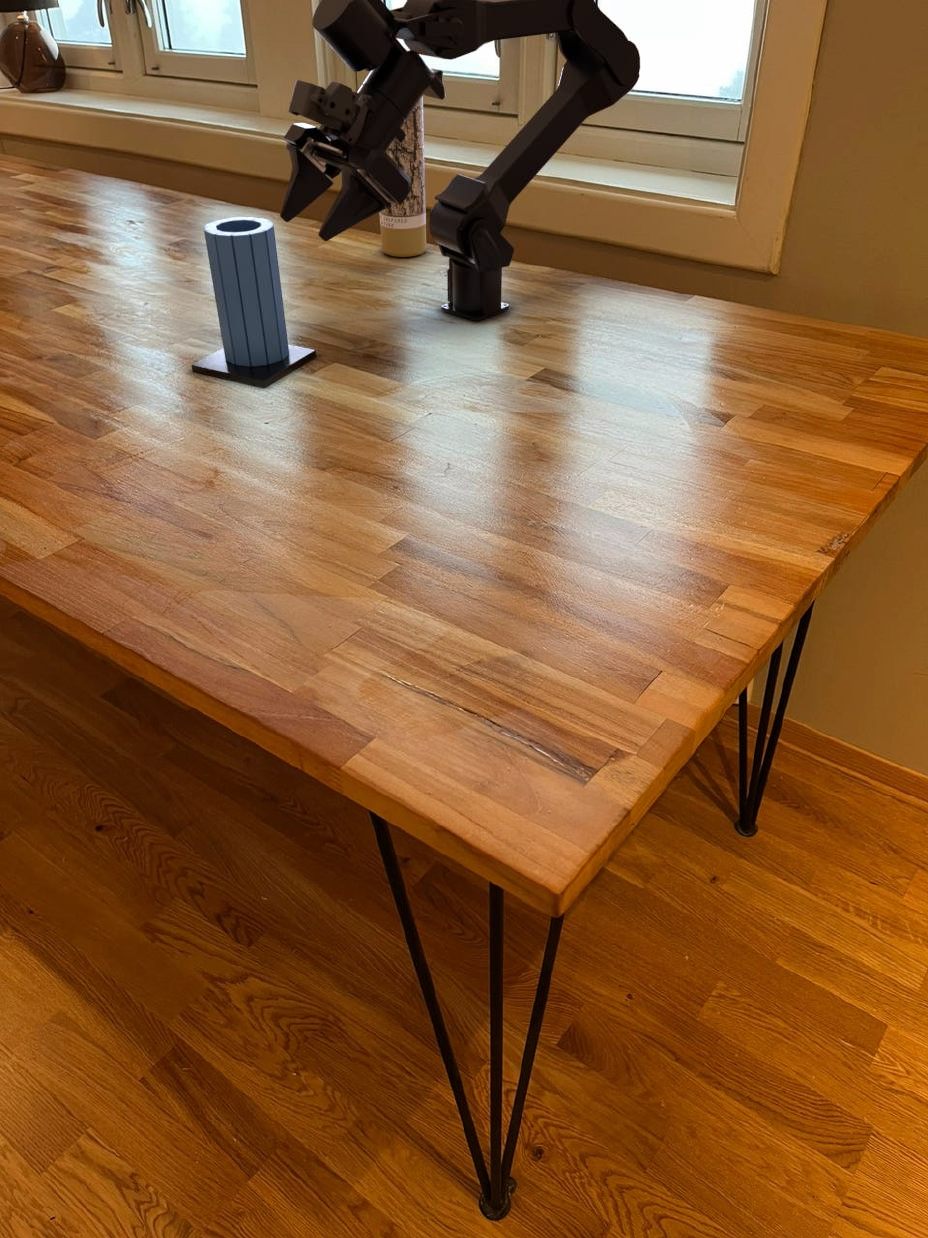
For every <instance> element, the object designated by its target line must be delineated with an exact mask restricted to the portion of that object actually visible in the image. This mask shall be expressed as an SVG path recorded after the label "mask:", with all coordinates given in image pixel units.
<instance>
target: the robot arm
mask: <svg viewBox="0 0 928 1238" xmlns="http://www.w3.org/2000/svg"><path fill="white" fill-rule="evenodd" d="M313 13H314V14H313V17H312V28H314V30H315V32H317V33H318V35H319V36H320V37H321V38H322V39H323V40H324V41H325V42H326V43H327V45H329V47H330V48H331V49H332V50H333V51H334V53H335V54H336V55H337V56H338V57H339V58H340V59H341V61H343V62H344V64H345V66H347V67H348V68H349V69H350V70H351V71H352V72H353V73H358V72H362V71H365V72H369V73H368V75H367V76H366V78H365V80H364V81H363V83H362V85H361V86H360V87H359V89H358V90H357V91H353V88H351V87H350V86H347V85H346V84H343V83H341V82H337V81H334V80H333V81H331V82H330V83H329V84H328V85H327V87H326V88H325V87H323V86H321V85H320V86H319V85H316V84H314V83H311V82H309V81H308V82H307V81H304V80H300V79H295V83H294V87H293V91H292V95H291V99H290V102H289V106H288V109H287V110H288V111H287V112H288V113H290V114H291V115H294V116H297V117H298V116H300V117H302V118H306V119H308V120H310V121H313V122H315V123H317V124H319V125H320V126H319V127H317V126H313V125H311V124H308V123H306V122H298V123H292V124H291V125H290V127H289V129H287V132H286V133H285V135H284V136H283V140H284V141H285V142H286V148H285V149H286V151H287V152H288V153H289V154H288V155H289V157H290V162H291V172H290V176H289V181H288V184H287V188H286V191H285V195H284V198H283V202H282V206H281V209H280V213H279V218H280V219H282V220H283V221H284V222H285V223H290V222H291V220H293V219H294V218H296V217H298V216H299V214H301V213H302V212H303V211H305V209H306V208H308V207H309V206H310V205H312V203H314V202H315V201H316V200H317V199H318V198H320V197H321V195H323V194H324V193H326V192H327V191H328V190H329V189H330V188H332V186H333V185H334V184H335V182H334V181H333V179H334V178H336V177H338V176H339V175H340V174H341V188H340V190H339V192H338V193H337V196H336V197H335V199H334V201H333V203H332V204H331V207H330V209H329V211H327V214H326V216H325V218H324V220H323V222H322V224H321V226H320V229H319V231H318V233H317V235H318V237H319V238H320V239H321V240H322V241H324V242H328V241H330V240H331V239H333V238H335V237H337V236H339V235H341V234H342V233H343V232H345V231H347V230H348V229H350V228H352V227H354V226H356V225H357V224H360V223H361V222H362V221H365V220H366V219H369V218H371V217H373V216H374V215H377V214H378V213H380V211H382V210H384V209H388V210H389V209H390V208H391V207H392V205H391V204H390V203H389V202H391V203H394V204H396V205H399V206H401V205H402V203H403V202H404V200H405V199H406V197H407V196H408V194H409V193H410V178H409V177H408V175H407V174H406V173H405V172H404V171H403V170H402V169H401V168H400V167H399V166H398V165H397V164H396V163H395V162H394V160H393V159H392V158H391V157H390V156H389V155H388V154H387V153H386V151H387V149H388V148H389V146H390V145H391V143H392V142H393V141H396V142H399V143H402V141H403V140H404V138H405V137H406V134H405V133H404V132H403V131H402V130H401V128H402V127H403V125H404V124H405V122H406V120H407V119H408V117H409V116H410V114H411V113H412V111H413V110H414V108H415V107H416V105H417V104H418V102H419V101H420V99H421V98H422V96H423V97H424V96H425V97H429V98H432V99H437V100H440V101H441V100H442V101H443V100H445V98H446V89H445V85H444V81H443V79H444V72H443V70H441V69H436V68H430V66H429V65H428V64H427V63H426V61H425V60H424V59H423V58H422V56H424V57H425V56H426V57H431V58H437V59H441V60H455V59H458V58H461V57H463V56H466V55H469V54H472V53H474V52H477V51H478V50H480V49H481V48H482V47H483V46H484V45H486V44H488V43H491V42H494V41H500V40H508V39H509V40H511V39H518V38H526V37H534V36H542V35H551V34H555V36H556V41H557V44H558V49H559V52H560V54H561V55H562V57H563V58H564V59H565V62H564V64H563V66H562V70H561V75H560V79H559V82H558V86H557V88H556V90H554V92H553V93H552V94H551V95H550V97H549V98H548V99H547V100H546V101H545V102H544V103H543V104H542V106H541V107H540V108H539V109H538V110H537V111H536V112H535V113H534V115H532V117H531V118H530V119H529V120H528V121H527V122H526V124H524V125H523V127H522V128H521V129H520V130H519V131H518V132H517V134H516V135H515V136H514V137H513V138H512V139H511V140H510V141H509V142H508V144H506V146H504V148H503V149H502V150H501V151H500V152H499V154H497V156H496V157H495V158H494V159H493V160H492V162H491V163H490V164H489V165H488V166H487V167H486V168H485V170H483V172H482V173H481V174H480V175H478V176H476V177H474V178H472V177H469V176H467V175H463V174H459V173H457V174H456V175H455V176H454V177H453V178H452V179H451V180H450V182H449V183H448V185H447V186H446V187H445V189H443V191H442V192H441V193H439V194H437V195H435V196H434V200H435V201H436V202H435V204H434V205H433V206H432V208H431V210H430V212H429V213H428V214H429V215H428V218H429V224H428V227H429V233H430V235H431V237H432V239H433V241H435V243H436V244H437V245H438V248H439V251H440V254H441V256H443V257H444V258H448V269H447V271H446V273H447V274H446V278H447V281H446V282H447V283H446V284H447V286H446V287H447V302H448V303H445V304H443V305H441V306H440V310H441V311H442V312H446V313H450V314H452V315H455V316H459V317H462V318H465V319H468V320H471V321H475V322H479V321H483V320H485V319H487V318H490V317H491V316H495V315H497V314H500V313H502V312H504V311H507V310H509V309H510V304H508V303H506V302H502V287H503V286H502V284H503V283H502V281H503V268H507V267H509V266H510V265H511V262H512V259H513V257H514V256H513V255H514V252H515V249H514V246H512V244H511V243H510V242H509V241H508V240H507V239H506V238H505V237H504V235H503V234H501V233H502V232H503V231H504V229H505V227H506V224H507V219H508V215H509V211H510V206H511V204H512V203H513V202H514V201H515V199H516V198H517V197H518V196H519V195H520V194H521V192H522V191H523V190H524V189H525V188H526V187H527V186H528V185H529V184H530V183H531V181H533V179H534V178H535V177H536V176H537V175H538V174H539V172H540V171H541V170H542V169H543V168H544V167H545V166H546V164H547V163H549V161H550V160H551V159H552V158H553V157H554V155H555V154H556V153H557V152H558V151H559V150H560V149H561V148H562V146H564V144H565V143H566V142H567V141H568V140H569V139H570V138H571V136H572V135H573V134H574V133H575V132H576V131H577V130H578V128H579V127H580V126H581V125H582V124H583V123H584V122H585V121H586V120H587V119H588V118H589V117H591V116H594V115H595V114H597V113H600V112H602V111H604V110H606V109H608V108H610V107H613V106H614V105H615V104H616V103H618V102H619V101H620V100H621V99H623V98H624V97H625V96H627V95H628V94H629V93H630V92H631V91H632V90H633V89H634V88H635V86H636V85H637V83H638V82H639V79H640V77H641V75H640V71H641V55H640V51H639V49H638V47H637V45H636V43H634V42H633V41H631V40H629V38H628V37H627V36H626V34H625V33H624V31H623V30H622V29H621V28H620V27H619V26H618V25H617V24H616V22H614V21H613V20H612V19H611V18H609V16H607V15H606V14H605V13H604V12H603V11H602V10H601V9H600V7H599V5H598V4H597V2H596V1H595V0H406V2H405V3H404V5H403V6H401V7H397V8H393V9H390V8H389V7H388V6H387V5H386V4H385V2H384V1H383V0H320V1H319V3H318V5H317V7H316V9H315V11H314V12H313ZM399 40H402V41H403V43H404V45H405V46H406V47H407V48H408V49H409V50H407V49H406V48H405V47H404V46H403V45H402V43H401V42H400V41H399ZM420 55H421V56H420ZM388 201H389V202H388Z"/></svg>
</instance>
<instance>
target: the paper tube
mask: <svg viewBox="0 0 928 1238" xmlns="http://www.w3.org/2000/svg"><path fill="white" fill-rule="evenodd" d="M424 128H425V127H424V95H423V96H422V98H421V99H420V101H419V102H418V104H417V105H416V107H415V108H414V110H413V111H412V113H411V114H410V116H409V117H408V119H407V120H406V122H405V124H404V125H403V127H402V128H401V130H402V131H403V132H404V133H405V134H406V137H405V138H404V140H403V141H402V143H399V142H396V141H393V142H392V143H391V145H390V146H389V148H388V149H387V151H386V153H387V154H388V155H389V156H390V157H391V158H392V159H393V160H394V162H395V163H396V164H397V165H398V166H399V167H400V168H401V169H402V170H403V171H404V172H405V173H406V174H407V175H408V177H409V178H410V193H409V194H408V196H407V197H406V199H405V200H404V202H403V203H402V205H401V206H399V205H396V204H394V203H391V202H389V201H388V202H389V203H390V204H391V205H392V207H391V208H390V209H389V210H388V209H384V210H382V211H380V212H379V225H380V242H381V245H380V246H381V250H382V252H383V253H384V254H386V255H388V256H391V257H396V258H406V257H407V258H408V257H409V258H410V257H416V256H419V255H422V254H423V253H424V252H425V251H426V249H427V212H426V209H427V208H426V207H427V206H426V176H425V175H426V173H425V171H426V169H425V167H426V166H425V137H424V136H425V135H424Z"/></svg>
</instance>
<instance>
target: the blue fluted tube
mask: <svg viewBox="0 0 928 1238" xmlns="http://www.w3.org/2000/svg"><path fill="white" fill-rule="evenodd" d="M203 232H204V233H203V234H204V238H205V246H206V251H207V257H208V263H209V268H210V275H211V276H210V277H211V281H212V288H213V293H214V299H215V305H216V312H217V317H218V322H219V329H220V335H221V341H222V347H223V348H224V354H225V359H226V360H227V361H228V362H230V363H232V364H236V365H240V366H249V367H250V366H251V365H252V367H253V366H263V365H267V364H272V363H275V362H278V361H281V360H283V359H284V358H285V357H287V356H288V355H289V347H288V344H289V341H288V340H289V339H288V333H287V331H288V330H287V323H286V316H285V307H284V306H285V305H284V298H283V291H282V290H283V289H282V282H281V276H280V275H281V274H280V266H279V258H278V250H277V242H276V235H275V234H276V233H275V226H274V223H273V221H272V220H270V219H265V218H263V217H262V218H261V217H252V216H238V217H237V216H236V217H229V218H221V219H218V220H214V221H210V222H209V223H207V224H205V225H203ZM223 348H222V349H223Z"/></svg>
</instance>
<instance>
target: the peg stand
mask: <svg viewBox="0 0 928 1238" xmlns="http://www.w3.org/2000/svg"><path fill="white" fill-rule="evenodd" d="M288 347H289V355H288V356H287V357H285V358H284V359H283V360H281V361H278V362H275V363H272V364H267V365H263V366H253V367H252V365H251V366H250V367H249V366H240V365H236V364H232V363H230V362H228V361H227V360H226V359H225V354H224V348H221V349H219V350H217V351H215V352H213V353H211V354H210V355H208V356H205V357H204V358H202V359H200V360H198V361H196V362H194V363H193V364H191V365H190V366H191V371H192V372H193V373H197V374H201V375H206V376H210V377H215V378H219V379H223V380H228V381H231V382H232V381H233V382H237V383H241V384H245V385H250V386H254V387H260V388H263V389H265V388H267V387H269V386H270V385H271V384H274V383H275V382H277V381H279V380H280V379H282V378H283V377H285V376H286V375H289V374H291V372H293V371H295V370H297V369H299V368H300V367H302V366H303V365H304V364H307V363H308V362H310V361H312V360H313V359H315V358H316V357H317V350H316V349H314V348H313V349H312V348H308V347H303V346H298V345H293V344H289V343H288Z"/></svg>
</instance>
